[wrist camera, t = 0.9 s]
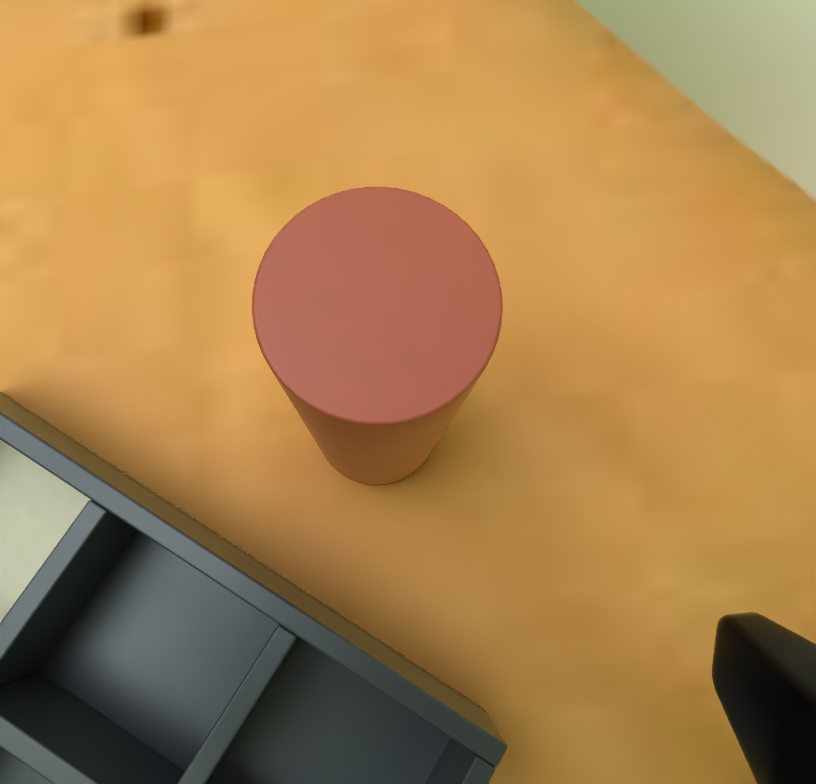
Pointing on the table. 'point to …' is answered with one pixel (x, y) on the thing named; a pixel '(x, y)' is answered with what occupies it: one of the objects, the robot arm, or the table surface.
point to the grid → (189, 649)
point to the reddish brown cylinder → (377, 324)
